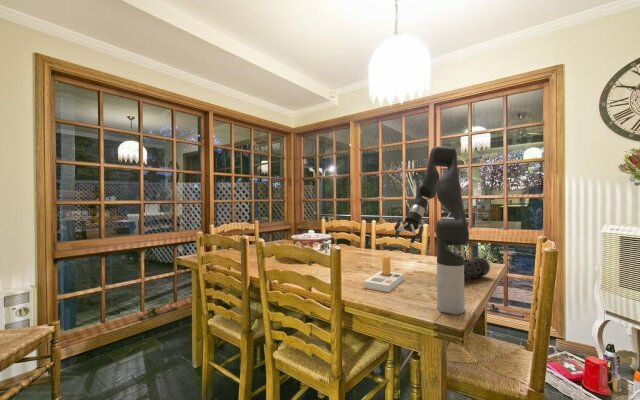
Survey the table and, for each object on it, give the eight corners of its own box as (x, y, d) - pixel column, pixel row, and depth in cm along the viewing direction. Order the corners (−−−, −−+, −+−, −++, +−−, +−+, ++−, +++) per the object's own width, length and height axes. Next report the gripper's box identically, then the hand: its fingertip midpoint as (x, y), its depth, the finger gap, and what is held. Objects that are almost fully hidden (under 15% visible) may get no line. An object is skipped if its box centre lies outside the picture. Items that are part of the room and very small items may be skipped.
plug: (388, 282, 139) (388, 257, 139) (381, 280, 141) (380, 256, 141) (391, 280, 142) (391, 256, 142) (384, 278, 145) (383, 255, 144)
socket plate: (388, 292, 124) (388, 284, 124) (363, 287, 131) (363, 280, 131) (403, 279, 142) (403, 273, 142) (381, 276, 149) (381, 270, 149)
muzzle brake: (437, 281, 139) (437, 260, 139) (474, 274, 152) (474, 255, 152) (454, 287, 131) (454, 264, 131) (492, 278, 143) (492, 258, 143)
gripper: (401, 208, 154) (389, 233, 148) (427, 214, 145) (415, 240, 139) (404, 215, 159) (392, 239, 153) (429, 221, 150) (418, 247, 144)
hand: (403, 240), depth 146 cm, fingers open, 8 cm apart
